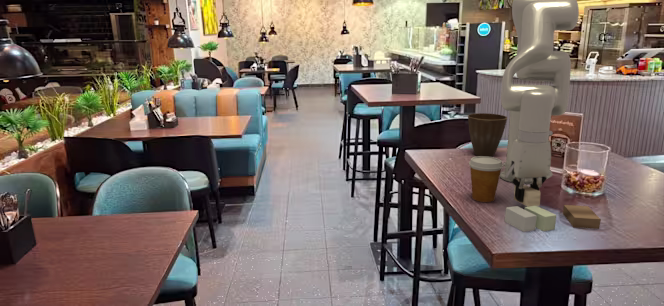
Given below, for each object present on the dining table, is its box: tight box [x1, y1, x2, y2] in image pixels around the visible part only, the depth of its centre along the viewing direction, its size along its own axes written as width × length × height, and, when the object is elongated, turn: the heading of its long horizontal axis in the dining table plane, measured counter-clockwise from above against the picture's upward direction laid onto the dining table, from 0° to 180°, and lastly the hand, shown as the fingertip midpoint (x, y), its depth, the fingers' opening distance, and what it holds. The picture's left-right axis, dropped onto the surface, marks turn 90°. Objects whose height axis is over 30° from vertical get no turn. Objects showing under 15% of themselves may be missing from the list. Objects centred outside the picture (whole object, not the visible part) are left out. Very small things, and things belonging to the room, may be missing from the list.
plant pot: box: [467, 112, 508, 157], centre depth 180 cm, size 15×15×16 cm
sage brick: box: [524, 206, 557, 232], centre depth 114 cm, size 7×4×4 cm, turn 19°
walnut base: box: [562, 204, 602, 230], centre depth 116 cm, size 9×6×3 cm, turn 169°
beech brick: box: [513, 184, 541, 207], centre depth 123 cm, size 7×4×4 cm, turn 8°
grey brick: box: [504, 205, 537, 233], centre depth 113 cm, size 7×4×4 cm, turn 18°
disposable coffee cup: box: [468, 156, 504, 203], centre depth 132 cm, size 10×10×12 cm
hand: (526, 199), depth 124 cm, fingers closed on beech brick, 3 cm apart
